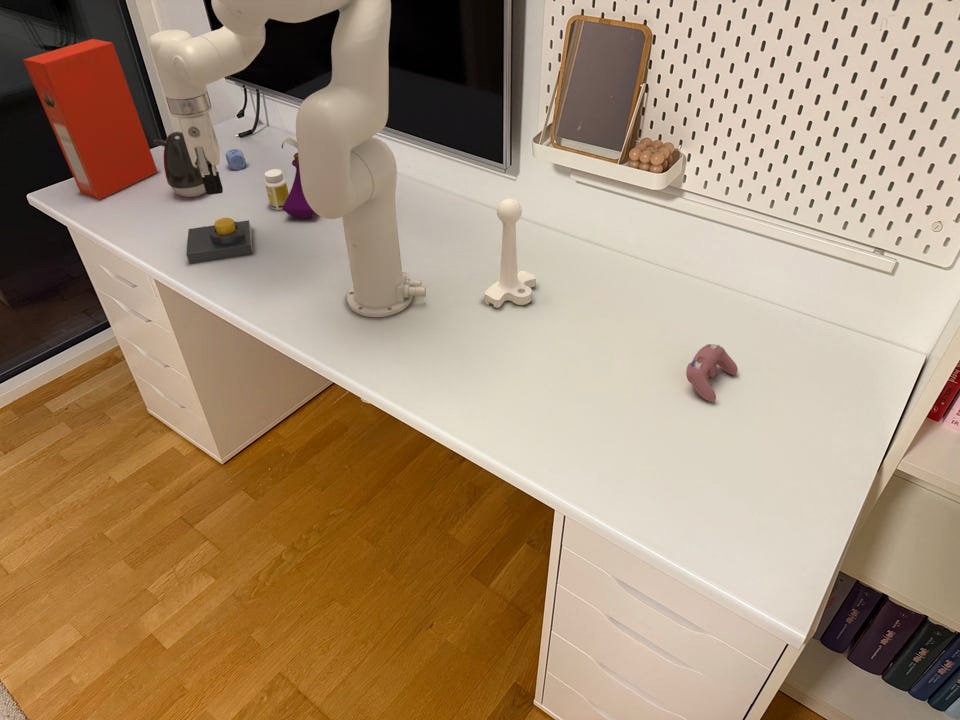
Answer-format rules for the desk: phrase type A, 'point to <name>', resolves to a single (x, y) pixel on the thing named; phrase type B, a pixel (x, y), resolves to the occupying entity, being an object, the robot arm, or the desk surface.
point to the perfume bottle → (296, 192)
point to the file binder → (92, 116)
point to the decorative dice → (235, 159)
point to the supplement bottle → (276, 188)
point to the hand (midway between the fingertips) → (215, 192)
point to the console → (218, 243)
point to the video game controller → (708, 369)
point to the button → (225, 226)
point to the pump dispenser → (180, 167)
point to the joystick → (510, 262)
